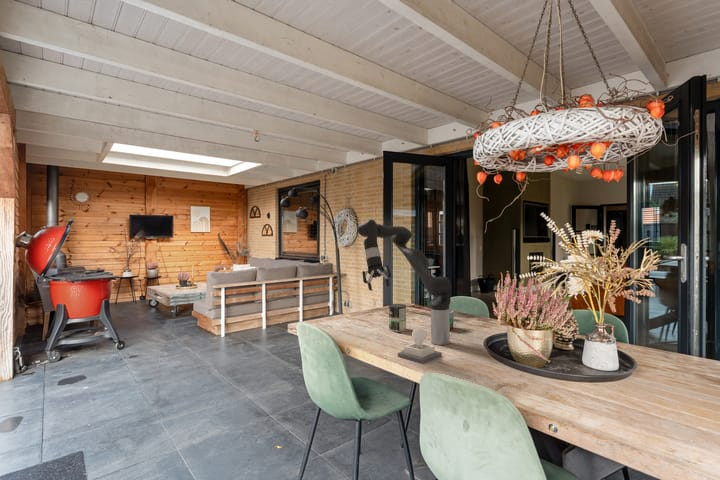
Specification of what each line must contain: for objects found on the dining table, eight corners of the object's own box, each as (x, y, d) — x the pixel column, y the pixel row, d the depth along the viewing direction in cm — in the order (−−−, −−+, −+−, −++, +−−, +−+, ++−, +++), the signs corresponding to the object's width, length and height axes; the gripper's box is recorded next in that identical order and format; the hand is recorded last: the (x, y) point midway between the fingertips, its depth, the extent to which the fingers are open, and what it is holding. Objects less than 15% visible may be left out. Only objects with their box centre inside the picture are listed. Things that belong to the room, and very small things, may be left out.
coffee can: (390, 332, 210) (390, 307, 210) (387, 327, 220) (386, 304, 220) (408, 331, 211) (408, 306, 211) (404, 326, 221) (403, 303, 221)
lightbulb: (417, 355, 163) (416, 330, 162) (409, 351, 168) (409, 327, 168) (429, 353, 165) (428, 328, 165) (421, 349, 171) (420, 325, 171)
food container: (447, 331, 208) (446, 314, 208) (438, 330, 212) (437, 312, 212) (459, 328, 216) (459, 310, 216) (450, 326, 221) (450, 309, 220)
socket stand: (397, 356, 167) (397, 346, 167) (416, 349, 176) (416, 340, 176) (423, 363, 157) (422, 353, 157) (441, 355, 166) (441, 345, 166)
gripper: (388, 256, 191) (394, 287, 186) (361, 262, 193) (367, 292, 188) (385, 252, 184) (392, 284, 179) (358, 259, 186) (364, 290, 181)
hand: (379, 288), depth 183 cm, fingers open, 8 cm apart
